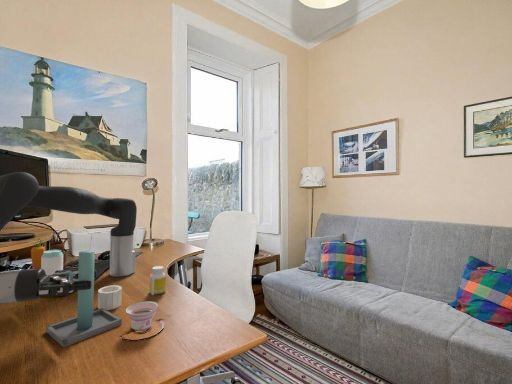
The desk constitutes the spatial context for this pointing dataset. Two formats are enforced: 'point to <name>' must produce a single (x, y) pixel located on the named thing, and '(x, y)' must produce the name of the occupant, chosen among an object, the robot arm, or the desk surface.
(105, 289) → the cup
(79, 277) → the dowel
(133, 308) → the teacup
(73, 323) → the tray
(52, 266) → the can
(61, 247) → the wooden figurine
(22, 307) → the desk surface
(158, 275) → the supplement bottle
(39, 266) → the carrot
